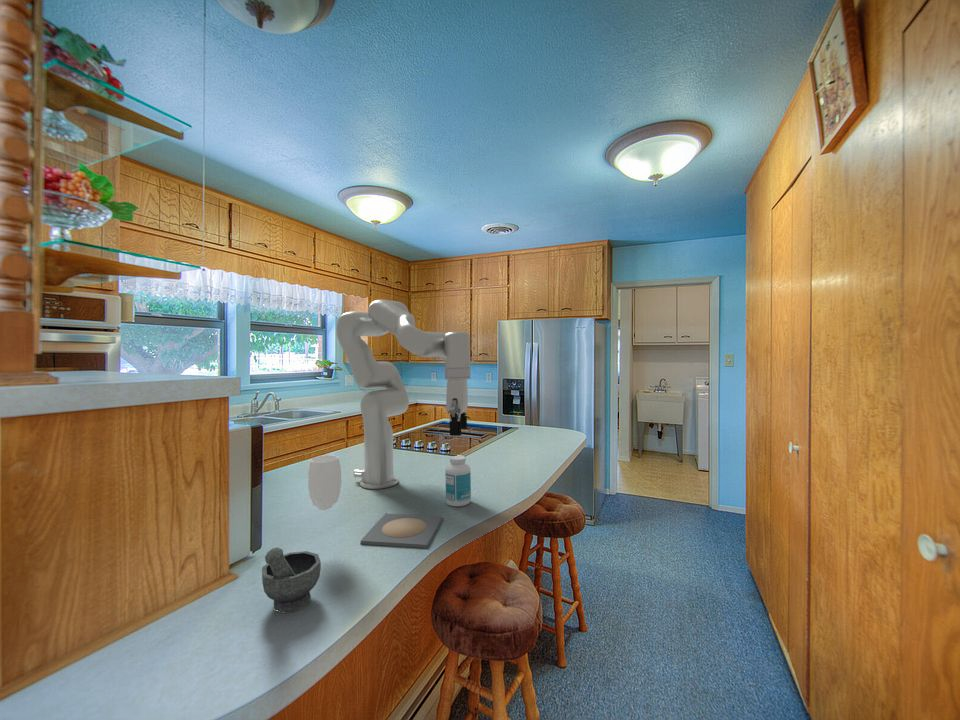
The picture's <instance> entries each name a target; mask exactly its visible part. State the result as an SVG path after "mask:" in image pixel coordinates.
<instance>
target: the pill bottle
mask: <svg viewBox="0 0 960 720" xmlns="http://www.w3.org/2000/svg"><path fill="white" fill-rule="evenodd" d="M466 458H467V457H466V456H463V455H454V456H450V457H449V464H448V465H446V467H445V471H444V472H445V473H444V474H445V502H446V504H447V505H448V506H451V507H465V506H468V505H469V504H470V503H471V501H472V487H471V486H472V484H471V481H472V480H471V474H472V473H471V467H470V466H469V464H467V463H466V461H467V460H466Z"/></svg>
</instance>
